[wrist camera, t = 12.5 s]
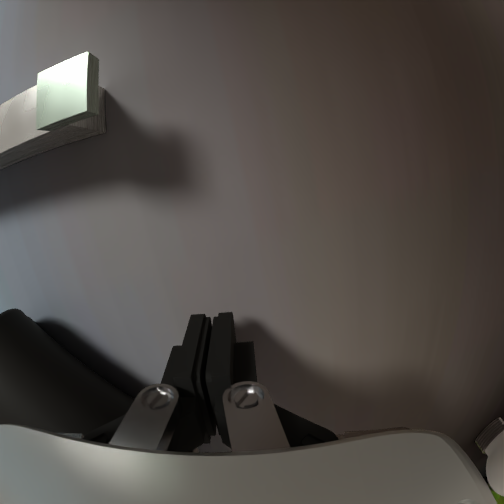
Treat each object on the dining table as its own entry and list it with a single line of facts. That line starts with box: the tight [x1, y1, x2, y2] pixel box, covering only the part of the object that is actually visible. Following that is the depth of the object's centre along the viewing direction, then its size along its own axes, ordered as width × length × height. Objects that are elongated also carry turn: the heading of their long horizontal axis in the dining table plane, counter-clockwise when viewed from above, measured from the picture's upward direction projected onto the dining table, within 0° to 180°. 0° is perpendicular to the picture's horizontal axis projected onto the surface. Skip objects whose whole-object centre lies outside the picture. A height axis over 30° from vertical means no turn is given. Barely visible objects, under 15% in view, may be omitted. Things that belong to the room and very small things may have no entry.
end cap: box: [0, 309, 135, 436], centre depth 10 cm, size 10×7×7 cm
